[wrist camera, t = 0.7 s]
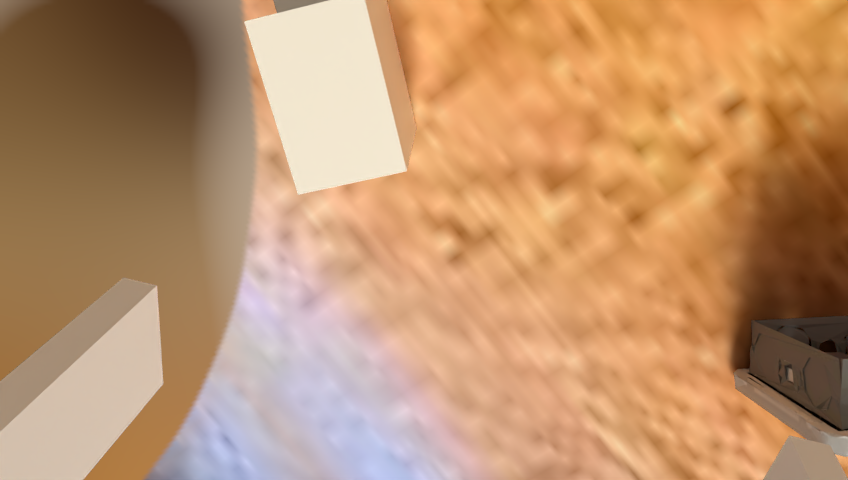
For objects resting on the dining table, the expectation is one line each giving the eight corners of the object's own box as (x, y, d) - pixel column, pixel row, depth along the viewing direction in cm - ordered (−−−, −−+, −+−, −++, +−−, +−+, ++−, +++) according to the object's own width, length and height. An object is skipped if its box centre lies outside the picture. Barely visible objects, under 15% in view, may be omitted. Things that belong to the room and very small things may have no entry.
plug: (334, 146, 30) (298, 194, 22) (292, -3, 28) (236, -5, 20) (416, 127, 30) (406, 171, 22) (380, -26, 27) (356, -35, 20)
